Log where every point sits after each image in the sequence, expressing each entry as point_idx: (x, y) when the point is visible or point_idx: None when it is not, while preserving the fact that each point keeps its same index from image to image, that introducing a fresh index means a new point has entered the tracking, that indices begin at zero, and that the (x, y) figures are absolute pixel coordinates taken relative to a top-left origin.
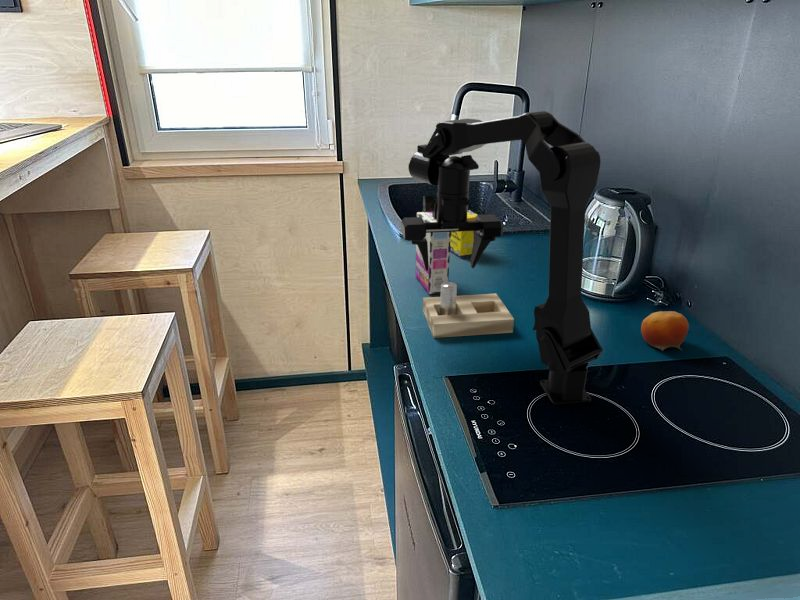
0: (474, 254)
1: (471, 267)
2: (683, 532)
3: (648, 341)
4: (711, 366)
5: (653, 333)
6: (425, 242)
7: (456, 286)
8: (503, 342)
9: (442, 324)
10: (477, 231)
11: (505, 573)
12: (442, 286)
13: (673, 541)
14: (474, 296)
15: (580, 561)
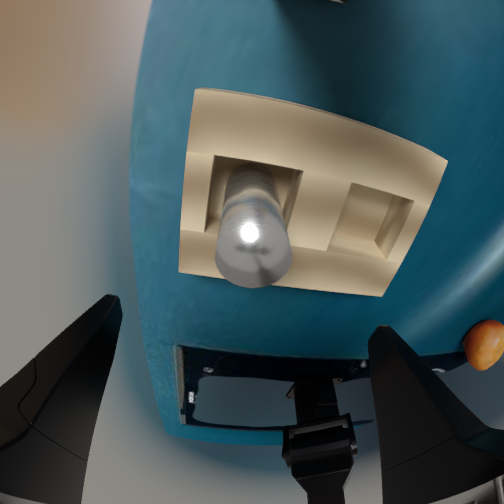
0: (388, 414)
1: (371, 335)
2: (277, 439)
3: (467, 338)
4: (460, 359)
5: (468, 353)
6: (71, 501)
7: (280, 278)
8: (327, 297)
9: (201, 274)
10: (475, 488)
11: (176, 434)
12: (217, 265)
13: (268, 440)
14: (386, 148)
15: (215, 438)
